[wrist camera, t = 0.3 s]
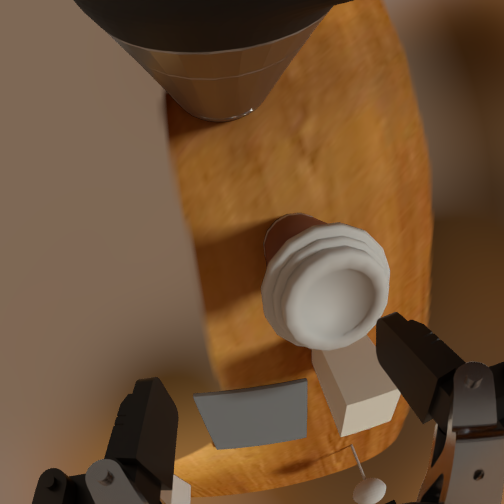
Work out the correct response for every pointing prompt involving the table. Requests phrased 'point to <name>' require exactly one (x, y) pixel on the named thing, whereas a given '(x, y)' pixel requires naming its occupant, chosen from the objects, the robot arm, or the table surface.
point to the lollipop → (368, 488)
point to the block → (355, 386)
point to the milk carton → (177, 492)
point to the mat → (255, 414)
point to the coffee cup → (322, 282)
